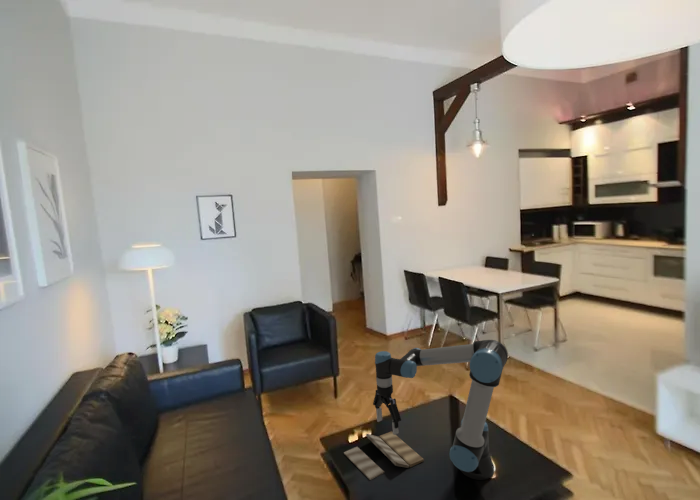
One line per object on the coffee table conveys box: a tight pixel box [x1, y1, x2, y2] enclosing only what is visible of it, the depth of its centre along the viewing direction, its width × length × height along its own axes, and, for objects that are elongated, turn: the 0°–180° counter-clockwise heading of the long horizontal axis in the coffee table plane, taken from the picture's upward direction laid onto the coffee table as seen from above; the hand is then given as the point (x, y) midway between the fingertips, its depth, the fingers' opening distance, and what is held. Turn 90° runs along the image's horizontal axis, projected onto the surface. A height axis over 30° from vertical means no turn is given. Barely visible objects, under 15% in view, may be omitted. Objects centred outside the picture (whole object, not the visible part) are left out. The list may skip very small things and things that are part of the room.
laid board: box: [378, 430, 425, 468], centre depth 190 cm, size 28×8×1 cm, turn 27°
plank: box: [343, 446, 385, 481], centre depth 182 cm, size 24×8×1 cm, turn 31°
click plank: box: [365, 433, 410, 469], centre depth 186 cm, size 28×8×1 cm, turn 27°
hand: (387, 427), depth 179 cm, fingers open, 13 cm apart
